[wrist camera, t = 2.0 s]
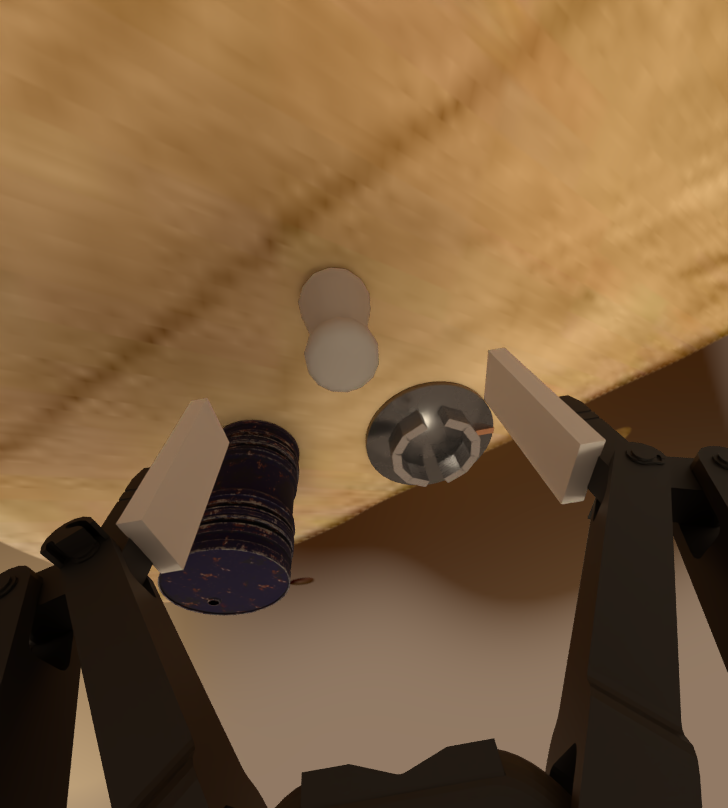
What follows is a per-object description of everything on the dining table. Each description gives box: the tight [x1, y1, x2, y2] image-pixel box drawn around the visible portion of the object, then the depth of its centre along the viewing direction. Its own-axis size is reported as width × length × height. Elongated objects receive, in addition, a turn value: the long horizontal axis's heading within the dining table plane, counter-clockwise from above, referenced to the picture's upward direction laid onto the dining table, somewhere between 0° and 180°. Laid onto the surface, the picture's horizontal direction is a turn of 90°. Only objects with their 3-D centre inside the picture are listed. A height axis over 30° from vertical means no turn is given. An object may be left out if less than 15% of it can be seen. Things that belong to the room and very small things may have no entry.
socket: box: [366, 382, 494, 487], centre depth 38 cm, size 15×15×3 cm
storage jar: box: [158, 420, 299, 615], centre depth 32 cm, size 10×10×15 cm
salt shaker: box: [298, 268, 379, 392], centre depth 23 cm, size 6×6×13 cm
